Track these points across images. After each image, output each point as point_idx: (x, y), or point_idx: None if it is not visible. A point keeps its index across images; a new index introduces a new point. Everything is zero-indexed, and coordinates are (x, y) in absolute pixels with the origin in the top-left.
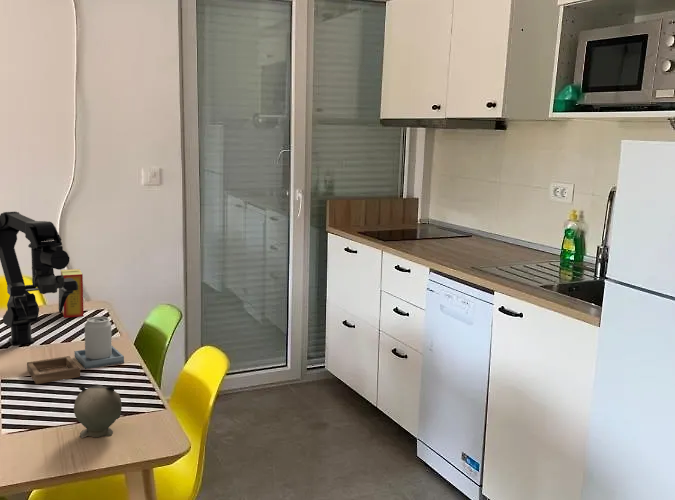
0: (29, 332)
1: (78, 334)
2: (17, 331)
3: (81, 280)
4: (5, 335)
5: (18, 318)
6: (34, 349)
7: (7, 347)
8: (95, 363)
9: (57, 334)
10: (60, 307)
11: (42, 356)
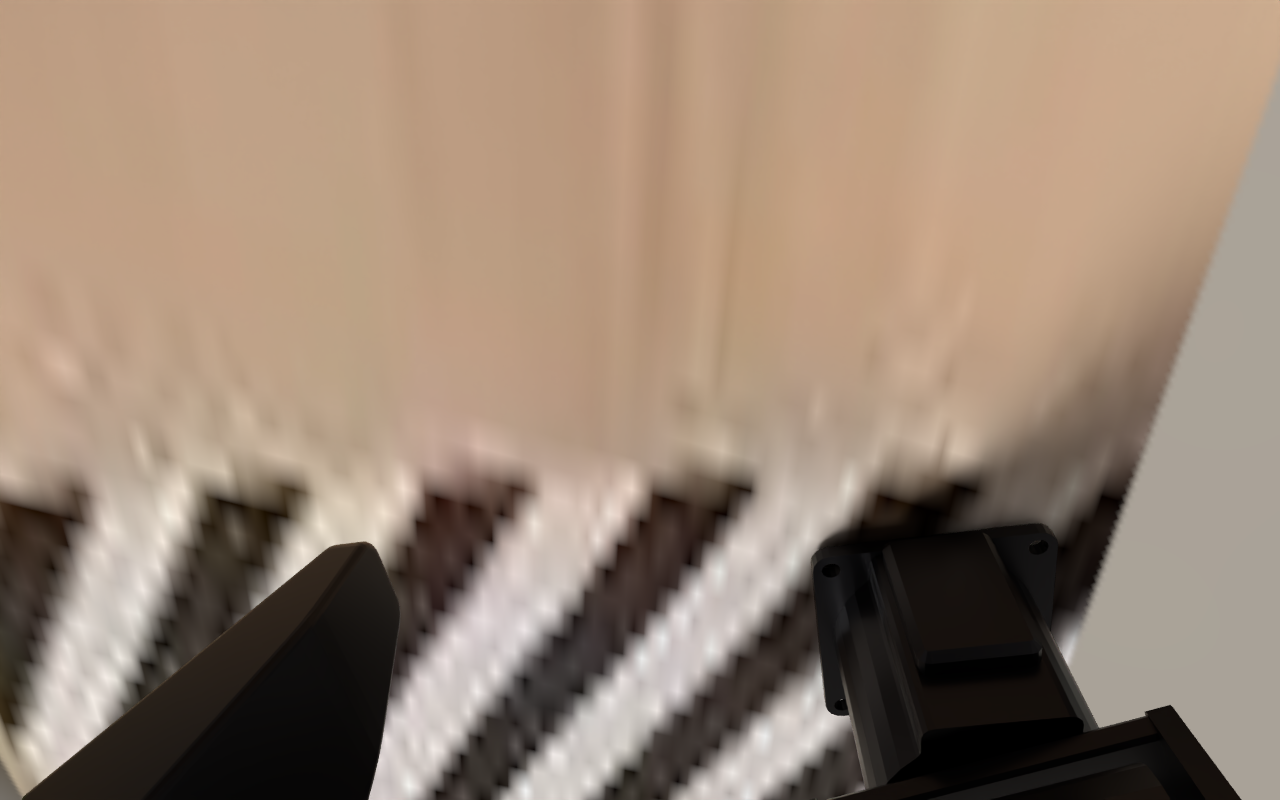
0: (876, 664)
1: None
2: (1047, 652)
3: None
4: None
5: (1154, 781)
6: (845, 340)
7: (1108, 491)
8: None
9: (566, 708)
10: (274, 651)
11: (789, 10)
